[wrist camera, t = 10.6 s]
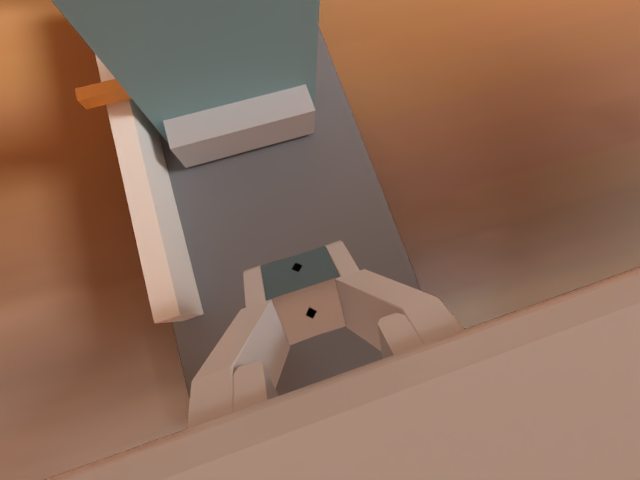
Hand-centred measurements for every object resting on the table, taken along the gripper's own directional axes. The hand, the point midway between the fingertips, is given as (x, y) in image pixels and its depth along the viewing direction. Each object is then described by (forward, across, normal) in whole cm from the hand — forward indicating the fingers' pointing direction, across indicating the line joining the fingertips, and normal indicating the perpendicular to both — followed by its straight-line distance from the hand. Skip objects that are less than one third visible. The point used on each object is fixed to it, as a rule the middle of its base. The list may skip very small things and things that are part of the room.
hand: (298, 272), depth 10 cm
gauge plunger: (+11, +1, -3) cm, 12 cm away
